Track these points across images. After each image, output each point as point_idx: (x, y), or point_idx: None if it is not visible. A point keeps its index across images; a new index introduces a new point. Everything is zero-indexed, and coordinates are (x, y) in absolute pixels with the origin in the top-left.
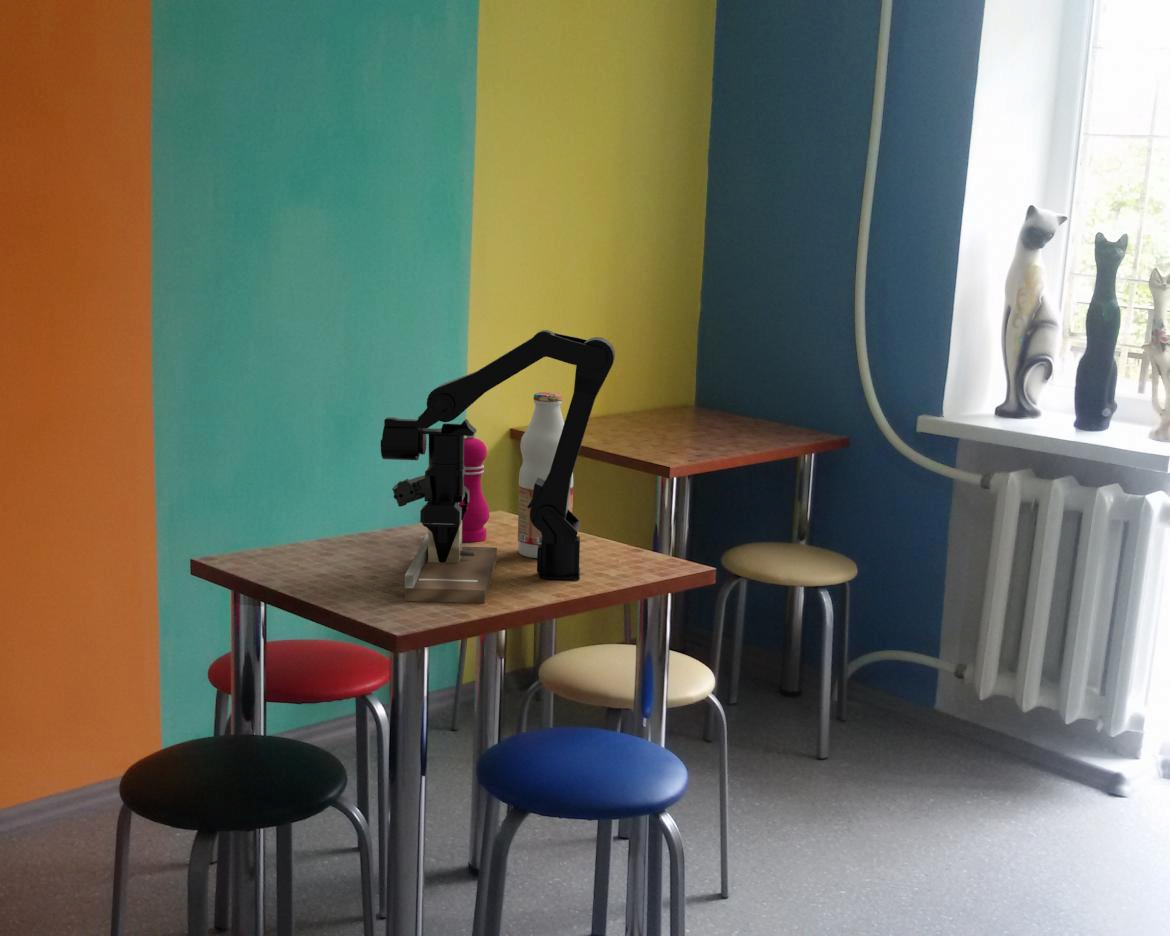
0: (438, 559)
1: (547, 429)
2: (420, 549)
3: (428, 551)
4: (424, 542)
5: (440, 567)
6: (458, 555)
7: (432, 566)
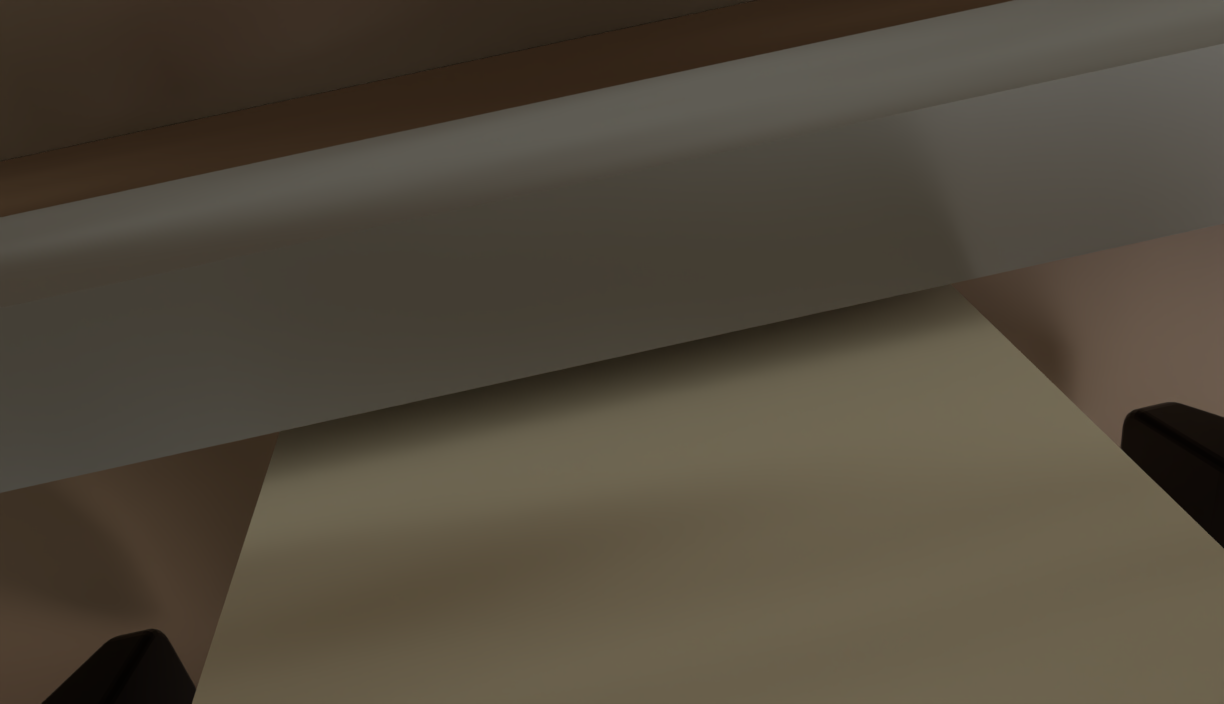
0: (80, 667)
1: None
2: (217, 315)
3: (277, 470)
4: (1040, 143)
5: (36, 638)
6: None
7: (23, 518)
